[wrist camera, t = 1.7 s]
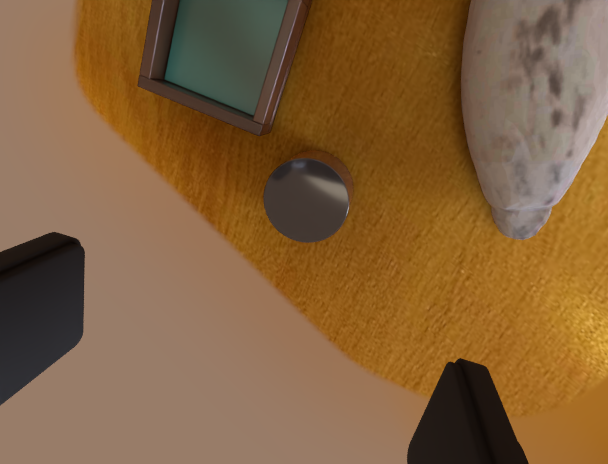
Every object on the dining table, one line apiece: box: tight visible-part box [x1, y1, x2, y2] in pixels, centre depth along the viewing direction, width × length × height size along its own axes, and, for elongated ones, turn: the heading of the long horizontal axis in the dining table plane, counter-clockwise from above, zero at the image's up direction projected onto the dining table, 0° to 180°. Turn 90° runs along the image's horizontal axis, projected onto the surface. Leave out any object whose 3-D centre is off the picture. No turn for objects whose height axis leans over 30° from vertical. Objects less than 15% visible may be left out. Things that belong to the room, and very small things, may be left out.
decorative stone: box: [461, 0, 608, 240], centre depth 16 cm, size 6×16×3 cm, turn 6°
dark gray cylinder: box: [264, 150, 353, 242], centre depth 20 cm, size 4×4×3 cm
